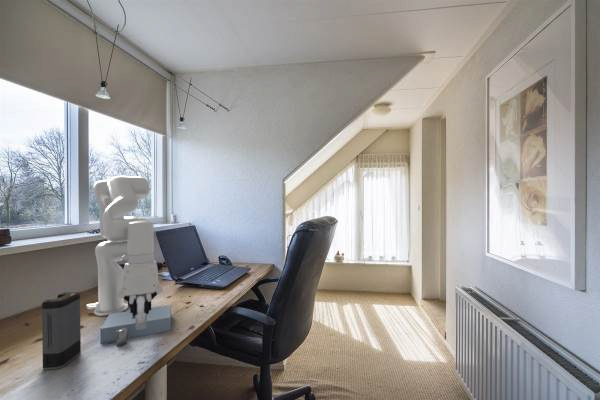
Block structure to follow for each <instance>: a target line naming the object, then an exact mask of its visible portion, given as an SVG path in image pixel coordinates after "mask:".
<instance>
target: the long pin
mask: <svg viewBox="0 0 600 400" xmlns="http://www.w3.org/2000/svg"><path fill="white" fill-rule="evenodd" d="M146 301H147V294H141V295H135V303H136V315H135V318H136V329H137V330H140V329H144V328H146V327H147V314H146Z"/></svg>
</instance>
